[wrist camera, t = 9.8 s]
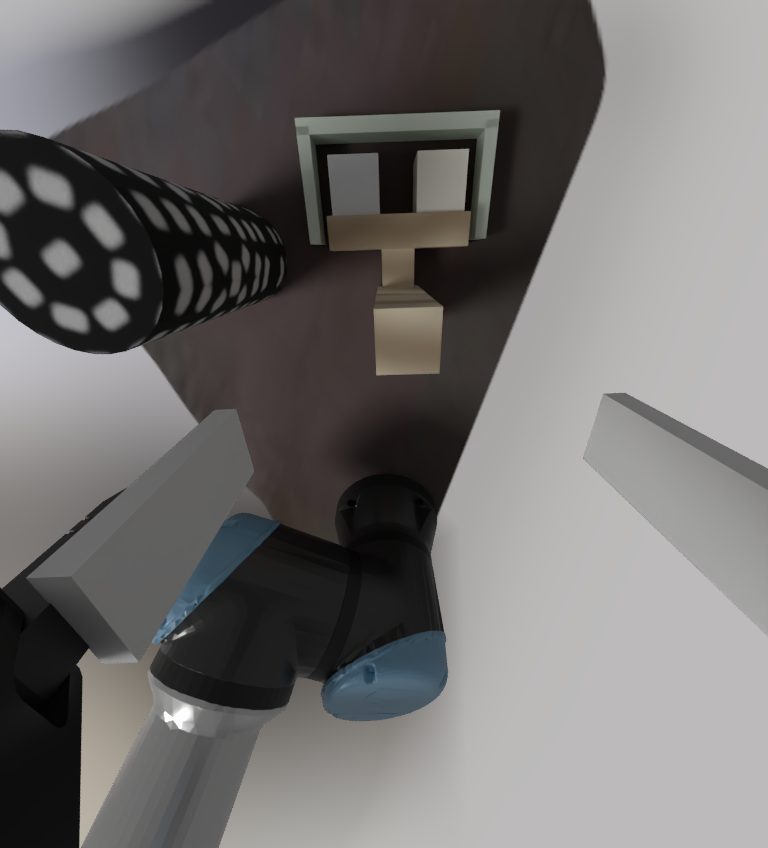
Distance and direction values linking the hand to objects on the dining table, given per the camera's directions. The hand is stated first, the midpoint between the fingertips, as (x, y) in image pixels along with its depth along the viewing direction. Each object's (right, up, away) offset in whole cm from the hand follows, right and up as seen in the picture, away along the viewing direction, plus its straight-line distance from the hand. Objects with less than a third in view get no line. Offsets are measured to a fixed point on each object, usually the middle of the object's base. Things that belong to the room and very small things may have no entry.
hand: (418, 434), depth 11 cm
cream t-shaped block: (0, +15, +20) cm, 25 cm away
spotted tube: (-15, +17, +19) cm, 30 cm away
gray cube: (-4, +22, +17) cm, 28 cm away
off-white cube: (+3, +22, +17) cm, 28 cm away
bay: (0, +22, +17) cm, 27 cm away
